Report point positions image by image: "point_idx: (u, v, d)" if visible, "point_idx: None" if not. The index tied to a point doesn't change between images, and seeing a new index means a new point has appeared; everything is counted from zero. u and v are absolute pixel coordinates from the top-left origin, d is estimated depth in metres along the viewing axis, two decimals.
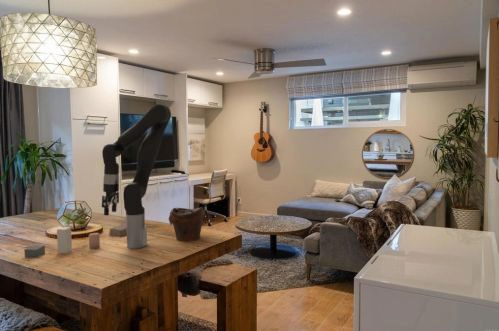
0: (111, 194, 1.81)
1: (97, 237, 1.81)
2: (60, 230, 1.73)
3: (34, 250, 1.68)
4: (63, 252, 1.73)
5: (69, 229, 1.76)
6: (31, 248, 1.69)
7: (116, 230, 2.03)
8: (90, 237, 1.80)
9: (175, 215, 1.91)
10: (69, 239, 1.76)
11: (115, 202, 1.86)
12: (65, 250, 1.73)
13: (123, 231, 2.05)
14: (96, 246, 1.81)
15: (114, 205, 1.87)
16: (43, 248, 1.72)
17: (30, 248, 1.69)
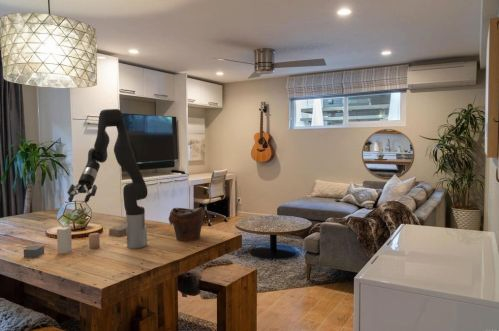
0: (80, 184, 1.93)
1: (97, 237, 1.81)
2: (60, 230, 1.73)
3: (33, 250, 1.67)
4: (63, 252, 1.73)
5: (69, 229, 1.76)
6: (30, 248, 1.69)
7: (115, 230, 2.03)
8: (90, 237, 1.80)
9: (175, 215, 1.91)
10: (69, 239, 1.76)
11: None
12: (65, 250, 1.73)
13: (122, 231, 2.05)
14: (96, 246, 1.81)
15: None
16: (42, 248, 1.72)
17: (29, 248, 1.69)
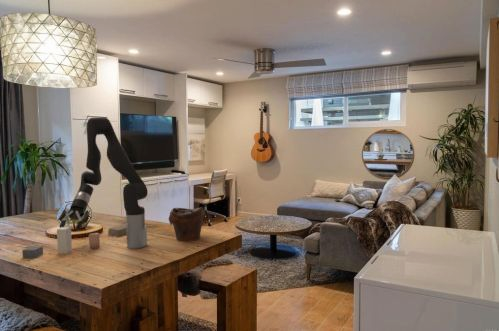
0: (72, 210, 1.85)
1: (97, 237, 1.81)
2: (60, 230, 1.73)
3: (32, 251, 1.67)
4: (63, 252, 1.73)
5: (69, 229, 1.76)
6: (29, 249, 1.68)
7: (114, 230, 2.04)
8: (90, 237, 1.80)
9: (175, 215, 1.91)
10: (69, 239, 1.76)
11: (78, 218, 1.82)
12: (65, 250, 1.73)
13: (121, 231, 2.05)
14: (96, 246, 1.81)
15: None
16: (41, 249, 1.72)
17: (28, 249, 1.68)
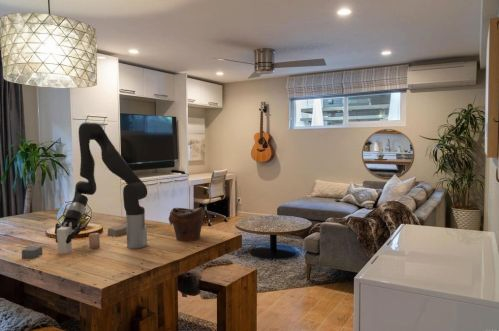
0: (66, 221, 1.80)
1: (97, 237, 1.81)
2: (60, 230, 1.73)
3: (31, 251, 1.67)
4: (63, 252, 1.73)
5: (69, 229, 1.76)
6: (28, 249, 1.68)
7: (113, 230, 2.04)
8: (90, 237, 1.80)
9: (175, 215, 1.91)
10: None
11: None
12: (65, 250, 1.73)
13: (120, 231, 2.05)
14: (96, 246, 1.81)
15: None
16: (40, 249, 1.72)
17: (27, 249, 1.68)
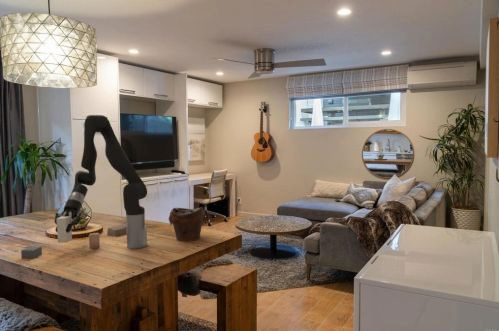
0: (66, 211, 1.79)
1: (97, 237, 1.81)
2: (60, 219, 1.72)
3: (31, 251, 1.66)
4: (63, 241, 1.73)
5: (69, 218, 1.75)
6: (28, 249, 1.68)
7: (112, 230, 2.04)
8: (90, 237, 1.80)
9: (175, 215, 1.91)
10: None
11: None
12: (65, 239, 1.73)
13: (119, 231, 2.05)
14: (96, 246, 1.81)
15: None
16: (40, 249, 1.71)
17: (27, 249, 1.68)
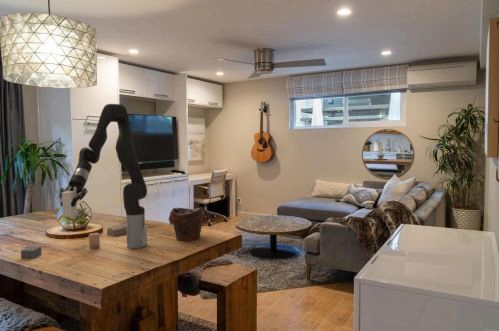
0: (71, 186, 1.81)
1: (97, 237, 1.81)
2: (65, 193, 1.74)
3: (31, 251, 1.66)
4: (68, 215, 1.74)
5: (74, 193, 1.77)
6: (28, 249, 1.68)
7: (112, 230, 2.04)
8: (90, 237, 1.80)
9: (175, 215, 1.91)
10: None
11: (74, 195, 1.77)
12: (70, 213, 1.74)
13: (118, 231, 2.05)
14: (96, 246, 1.81)
15: None
16: (40, 249, 1.71)
17: (27, 249, 1.68)
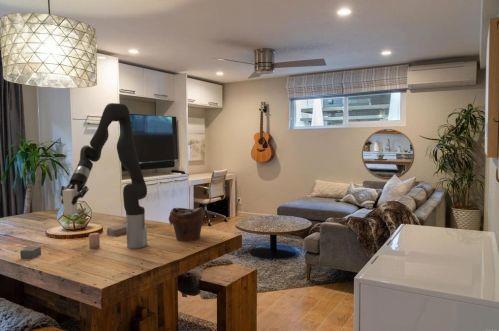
0: (72, 184, 1.81)
1: (97, 237, 1.81)
2: (66, 191, 1.74)
3: (30, 251, 1.66)
4: (69, 213, 1.75)
5: (75, 191, 1.77)
6: (27, 249, 1.68)
7: (111, 230, 2.04)
8: (90, 237, 1.80)
9: (175, 215, 1.91)
10: None
11: (75, 193, 1.77)
12: (71, 211, 1.75)
13: (118, 231, 2.05)
14: (96, 246, 1.81)
15: None
16: (39, 249, 1.71)
17: (26, 249, 1.68)
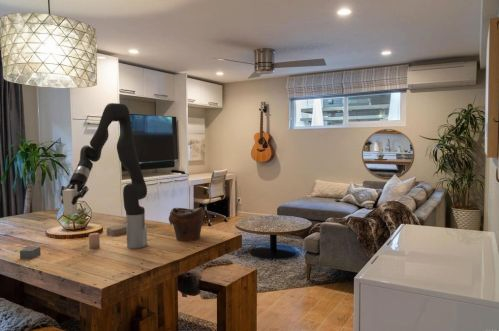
0: (72, 184, 1.81)
1: (97, 237, 1.81)
2: (66, 191, 1.74)
3: (30, 251, 1.66)
4: (69, 213, 1.75)
5: (75, 191, 1.77)
6: (26, 249, 1.68)
7: (110, 229, 2.05)
8: (90, 237, 1.80)
9: (175, 215, 1.91)
10: None
11: (75, 193, 1.77)
12: (71, 211, 1.75)
13: (117, 231, 2.05)
14: (96, 246, 1.81)
15: None
16: (39, 249, 1.71)
17: (25, 249, 1.68)
